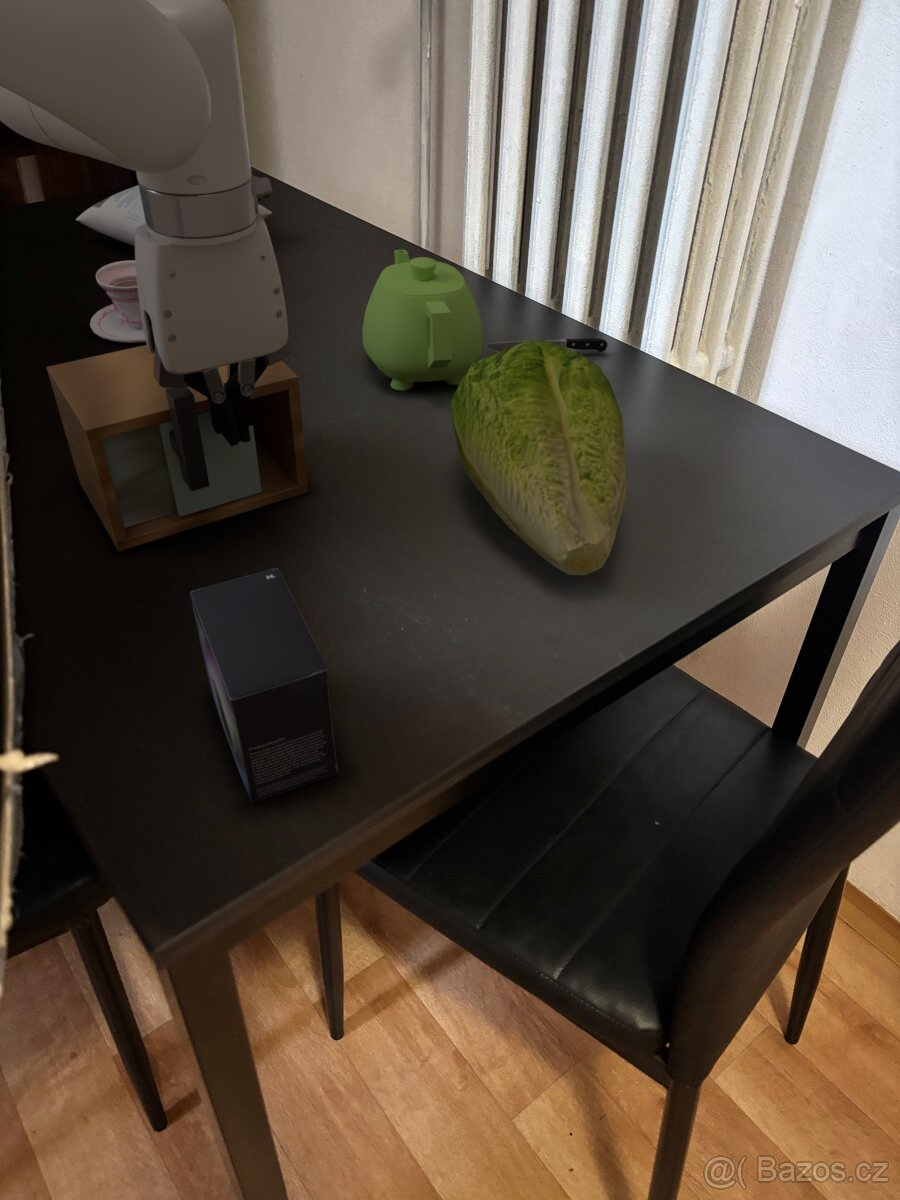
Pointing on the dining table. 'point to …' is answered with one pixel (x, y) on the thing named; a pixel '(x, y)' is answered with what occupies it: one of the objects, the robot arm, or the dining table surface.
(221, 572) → the dining table surface
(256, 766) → the small box
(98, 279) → the teacup
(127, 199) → the pouch
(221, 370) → the cabinet
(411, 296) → the teapot
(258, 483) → the sliding door
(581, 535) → the lettuce
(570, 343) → the knife
